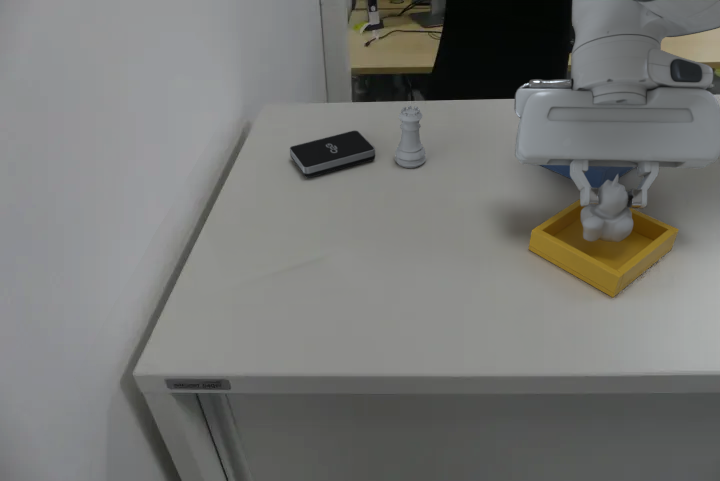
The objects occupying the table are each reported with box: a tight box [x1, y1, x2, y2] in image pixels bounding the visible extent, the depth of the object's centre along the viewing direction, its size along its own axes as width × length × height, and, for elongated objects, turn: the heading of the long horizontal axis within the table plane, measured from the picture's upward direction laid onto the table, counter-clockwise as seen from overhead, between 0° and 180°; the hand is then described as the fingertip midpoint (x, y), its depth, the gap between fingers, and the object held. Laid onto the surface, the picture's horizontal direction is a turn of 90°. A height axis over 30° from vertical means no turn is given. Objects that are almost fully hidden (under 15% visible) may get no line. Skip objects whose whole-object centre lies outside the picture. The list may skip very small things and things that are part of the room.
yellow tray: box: [528, 198, 680, 298], centre depth 62 cm, size 12×11×3 cm
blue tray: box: [540, 165, 635, 188], centre depth 77 cm, size 12×11×3 cm
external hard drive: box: [289, 129, 376, 179], centre depth 81 cm, size 7×11×2 cm, turn 114°
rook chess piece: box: [394, 105, 427, 169], centre depth 78 cm, size 4×4×8 cm
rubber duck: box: [581, 174, 633, 242], centre depth 60 cm, size 5×7×8 cm
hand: (613, 206), depth 59 cm, fingers closed on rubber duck, 3 cm apart
